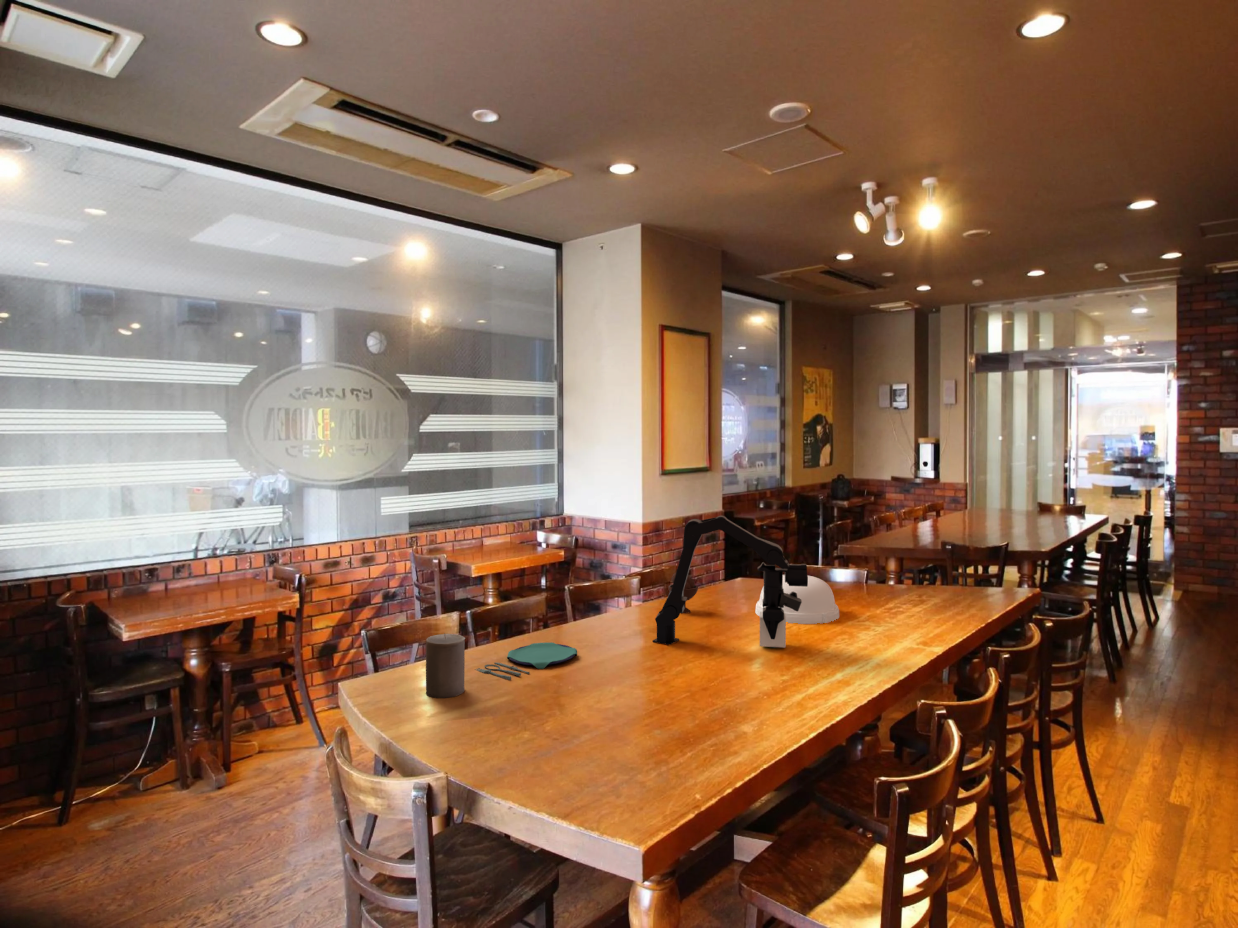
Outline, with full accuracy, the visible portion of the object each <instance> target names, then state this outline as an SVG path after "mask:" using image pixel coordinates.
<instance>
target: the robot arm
mask: <svg viewBox="0 0 1238 928" xmlns="http://www.w3.org/2000/svg"><path fill="white" fill-rule="evenodd" d="M719 530H720V531H722V532H723V533H725V534H727V535H729V536H730V537H732V538H734V539H735V540H737V541H738V542H740V543H741V544H743V545H745V546H747V547H749V548H750V549H751V550H753V551H754V552H755V553H756V554H757V555H758V556H759V557H760V558H761V559H762V560H764V561H763V562H761V564H760V565H759V566H757V572H758V571H759V572H763V586H764V599H763V607H764V608H763V620H764V622H765V625H766V627H767V630H768V632H769V635H770V638H771V639H775V636H776V632H777V627H778V624H779V623H780V622H781V621H783V620H784V610H783V609H782V608H784V606H786V607H789V608H791V609H793V610H795V611H798V610H799V608H800V605H801V603H802V601H801V599H800V598H797V593H795V592H793V591H792V592H791V593H790V594H788V593H787V594H786V593H784V591H783V575H785V583H787V584H789V586H803V587H807V586H808V576H809V575H808V569H807V568H808V566H807V564H806V563H801V564H797V563H789V561H788V560H787V559H786V558H785V556H784V553H783V549H782V547H781V546H780V545H779V544H777V543H775V542H772V541H769V540H766V539H763V538H761V537H758V536H757V535H754V534H753V533H751V532H749V531H748V530H746V529H744V528H743V527H741V526H739V524H737V523H734V522H733V521H731V520H730V519H728V518H727V517H726V516H725V515H718V516H716V517H711V518H706V519H705V518H704V519H699V518H692V519H690V520H688V522H687V523H686V524H685V526H684V530H683V538H682V539H683V540H682V541H683V543H682V551H681V554H680V557H679V561H678V565H677V568H676V572H675V573H676V575H675V579H674V582H672V584H673V586H672V589H671V591H670V592H669V593H668V595H667V597H666V599H665V602H664V603H663V606H662V609H660V610H659V611H658V613H657V615H656V617H655V618H654V620H655V624H656V638H655V639H653V640H652V643H656V644H657V643H658V644H661V645H669V646H670V645H673V644H675V643H677V642H679V641H680V638H677V637H676V619H678V618H679V616H680V614H681V615H682V614H684V613H683V611H684V604H686V603H687V601H686V599H687V597H683V591H684V587H685V583H686V579H687V576H689V573H690V568H691V565H692V561H693V557H694V553H695V550H696V548H697V546H698V544H699V541H700V540H701V538H702V536H703V535H705V534H710V533H712V532H715V531H719ZM765 562H766V563H767V564H766V563H765ZM776 566H777V567H776ZM783 573H784V574H783ZM807 575H808V576H807ZM685 602H686V603H685ZM779 607H780V608H779Z"/></svg>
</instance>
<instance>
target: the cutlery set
mask: <svg viewBox="0 0 1238 928" xmlns="http://www.w3.org/2000/svg"><path fill="white" fill-rule="evenodd" d="M577 656H578V649H577V648H575V647H572V646H570V645H566V644H561V643H560V644H559V643H555V642H536V643H535V642H534V643H531V644H528V645H524V646H520V647H517V648H515V649H512V650H509V651H508V653H507V657H506V658H507V659H508V660H510V661H511V662H514V663H516V664H519V665H525V666H534V667H535V668H537V669H538V670H544V669H545V668H546V667H547V666H548V665H555V664H560V663H563V662H567V661H568V660H571V659H573V658H574V657H577ZM507 659H506V660H507ZM493 663H494V664H489V663H488V664H485V665H484V668H485V669H482V668H481V667H480V668H479V667H478V668H476V669H474V670H475V671H477V672H480V673H482V674H488V675H489V674H490V675H492V676H495V677H498V678H501V679H505V680H507V681H511V680H512V676H510V675H506V674H500V673H496V672H494V671H499V672H502V673H503V672H504V673H508V674H511V675H514V676H516V677H520V676H521V675H522V673H521V672H523V673H525V674H527V675H530V673H531V672H530V671H526V670H523V669H522V668H521V669H520V668H518V666H514V665H508V664H505V663H501V662H496V661H495V662H493ZM489 667H495V668H489ZM501 667H503V668H507V669H501ZM509 669H510V670H509ZM517 671H519V672H517Z"/></svg>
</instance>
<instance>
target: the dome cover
mask: <svg viewBox="0 0 1238 928" xmlns="http://www.w3.org/2000/svg"><path fill="white" fill-rule="evenodd" d="M807 576H808V586H807V587H803V586H789V584H787V583H785V574H783V591H784V593H786V594H787V593H788V594H790V593H791V592H792V591H793V592H795V593H797V598H800V599H801V601H802V603H801V605H800V608H799V610H798V611H795V610H793V609H791V608H789V607H786V606H784V608H782V609H783V610H784V613H785V616H786V622H788V623H787V624H793V623H798V624H797V625H815V624H817V623H820V624H823V623H827V624H828V623H831V621H832V622H834V620H835V621H837V620H838V619H839V618H840V609H839V606H838V605H837V604H836V601H835V596H834V593H833V590H832V588H831V586H830V585H829V584H828V583H827V582H826V581H825V580H823V579H821V578H819V577H816V576H811V575H808V574H807ZM763 599H764V585H763V586H762V589H761V591H760V595H759V600H757V602H756V604H755V614H756V615H757V616H759V617H760V612H763V608H764V607H763ZM779 608H780V607H779ZM836 619H837V620H836ZM817 625H818V624H817Z"/></svg>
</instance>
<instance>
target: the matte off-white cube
mask: <svg viewBox="0 0 1238 928" xmlns="http://www.w3.org/2000/svg"><path fill="white" fill-rule="evenodd" d="M786 625H787V623H786V616H785V613H784V620H783V621H781V622H780V623H779V624H778V627H777V632H776V636H775V639H771V638H770V635H769V632H768V630H767V627H766V625H765V622H764V620H763V612H760V616H759V647H766V648H767V647H769V648H786V647H787V646H786V639H787V633H786V631H787V627H786Z"/></svg>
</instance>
